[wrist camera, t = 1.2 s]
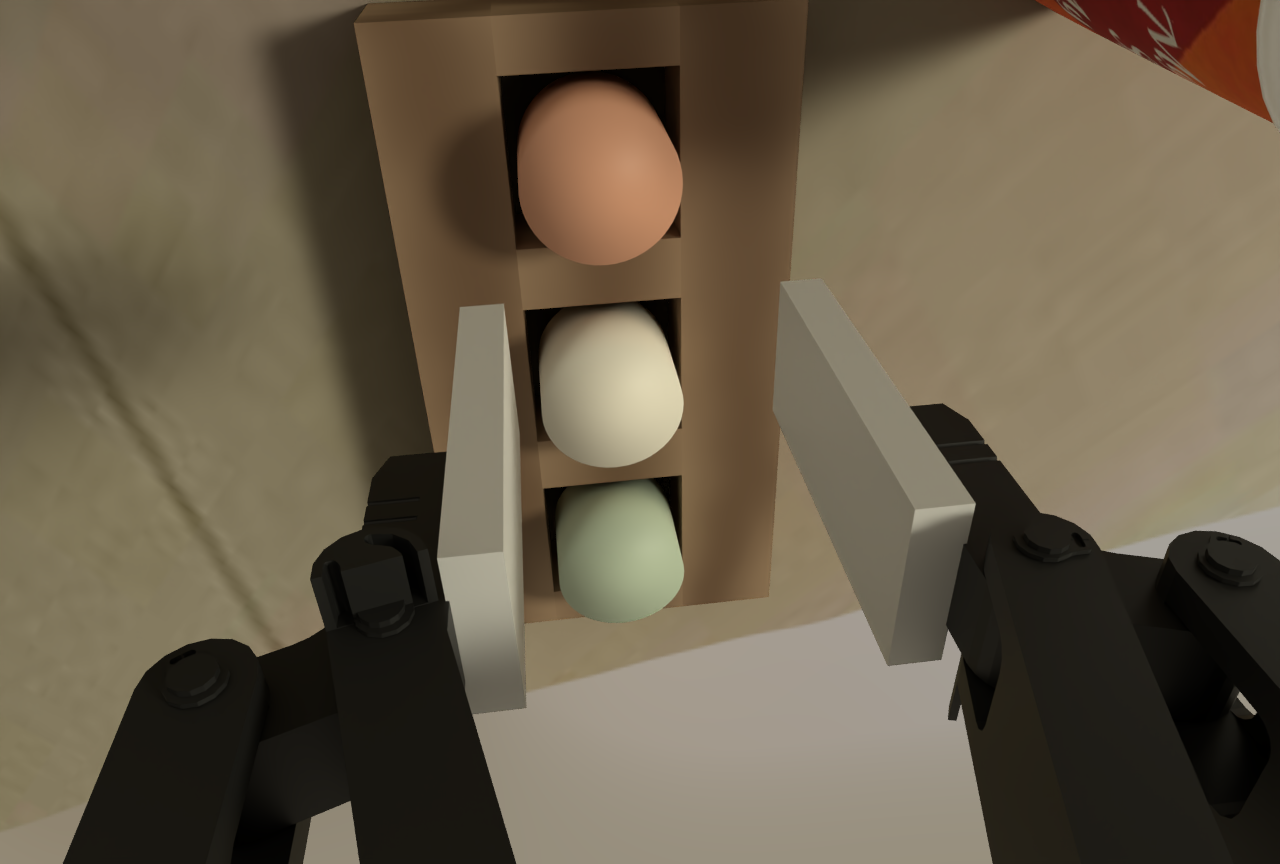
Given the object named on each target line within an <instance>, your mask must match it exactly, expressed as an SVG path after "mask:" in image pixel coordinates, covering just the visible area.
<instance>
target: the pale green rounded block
mask: <svg viewBox="0 0 1280 864" xmlns="http://www.w3.org/2000/svg"><path fill="white" fill-rule="evenodd" d="M555 526H556V540H557V554H558V568H559V582H560V589H561V592H562V595H563V597H564V598H565V600H566V602H567V603H568V604H569V605H570V606H571V607H572V608H573V609H574V610H575V611H577V612H578V613H580V614H581V615H583V616H585V617H587V618H590V619H593V620H597V621H601V622H608V623H623V622H631V621H635V620H639V619H642V618H645V617H648V616H650V615H652V614H654V613H656V612H657V611H659V610H661V609H662V608H663V607H665V606H666V605H667V604H668V603H669V602H670V601H671V600H672V599H673V598H674V597H675V596H676V594H677V593H678V591H679V589H680V587H681V585H682V582H683V578H684V565H683V560H682V556H681V552H680V548H679V544H678V540H677V535H676V531H675V527H674V523H673V519H672V514H671V510H670V506H669V502H668V498H667V495H666V493H665V491H664V490H663V488H662V487H661V485H660V484H659V483H658V482H657V481H656V480H654V479H653V478H647V479H636V480H626V481H616V482H605V483H595V484H584V485H574V486H568V487H567V488H566V489H565V490H564V492H563V493H562V494H561V496H560V498H559V500H558V502H557V505H556V509H555Z"/></svg>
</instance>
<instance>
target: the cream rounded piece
mask: <svg viewBox="0 0 1280 864" xmlns="http://www.w3.org/2000/svg"><path fill="white" fill-rule="evenodd" d="M538 360H539V376H540V393H541V409H542V419H543V424H544V427H545V430H546V432H547V434H548V436H549V438H550V439H551V441H552V442H553V443H554V445H555V446H556V447H557V448H558V449H559V450H560V451H562V452H563V453H564V454H565V455H567V456H568V457H570V458H572V459H574V460H576V461H578V462H580V463H583V464H587V465H590V466H596V467H606V468H610V467H621V466H627V465H631V464H634V463H637V462H640V461H642V460H644V459H646V458H648V457H650V456H652V455H653V454H655V453H656V452H658V451H659V450H660V449H661V448H662V447H664V446H665V445H666V444H667V442H668V441H669V440H670V439H671V438H672V436H673V435H674V434H675V432H676V430H677V428H678V426H679V424H680V421H681V418H682V414H683V405H684V402H683V394H682V389H681V386H680V383H679V379H678V376H677V373H676V370H675V366H674V363H673V360H672V357H671V353H670V350H669V347H668V344H667V340H666V337H665V334H664V331H663V329H662V327H661V325H660V323H659V321H658V320H657V319H656V317H655V316H654V315H653V314H652V313H651V312H650V311H649V310H648V309H647V308H645V307H644V306H642V305H641V304H639V303H637V302H635V301H632V302H619V303H607V304H594V305H582V306H569V307H564V308H563V309H561V310H560V311H559V312H558V313H557V314H556V315H555V316H554V317H553V318H552V319H551V320H550V321H549V323H548V324H547V326H546V328H545V329H544V331H543V334H542V336H541V339H540V343H539V349H538Z"/></svg>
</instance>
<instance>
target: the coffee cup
mask: <svg viewBox="0 0 1280 864" xmlns="http://www.w3.org/2000/svg"><path fill="white" fill-rule="evenodd" d="M1035 1H1037V2H1039V3H1040V4H1042V5H1044V6H1046V7H1048V8H1049V9H1051V10H1053V11H1055V12H1056V13H1058V14H1060V15H1062V16H1064V17H1066V18H1068V19H1070V20H1072V21H1073V22H1075V23H1077V24H1079V25H1081V26H1083V27H1085V28H1087V29H1089V30H1091V31H1092V32H1094V33H1096V34H1098V35H1100V36H1102V37H1104V38H1106V39H1108V40H1110V41H1112V42H1114V43H1116V44H1118V45H1120V46H1122V47H1124V48H1126V49H1128V50H1130V51H1132V52H1133V53H1135V54H1137V55H1139V56H1141V57H1143V58H1145V59H1147V60H1149V61H1151V62H1153V63H1155V64H1157V65H1159V66H1161V67H1163V68H1165V69H1167V70H1169V71H1171V72H1173V73H1175V74H1177V75H1179V76H1181V77H1183V78H1185V79H1187V80H1189V81H1191V82H1193V83H1195V84H1197V85H1199V86H1201V87H1203V88H1205V89H1207V90H1209V91H1211V92H1213V93H1215V94H1216V95H1218V96H1220V97H1222V98H1224V99H1226V100H1228V101H1230V102H1232V103H1234V104H1236V105H1238V106H1240V107H1242V108H1244V109H1246V110H1248V111H1250V112H1252V113H1254V114H1256V115H1258V116H1260V117H1262V118H1264V119H1266V120H1268V121H1270V122H1272V123H1273V124H1274V126H1275V127H1276V128H1277V130H1278V131H1279V133H1280V0H1035Z"/></svg>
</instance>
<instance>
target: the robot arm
mask: <svg viewBox="0 0 1280 864" xmlns="http://www.w3.org/2000/svg"><path fill="white" fill-rule="evenodd" d="M773 412H774V414H775V417H776V419H777V421H778V423H779V426H780V428H781V430H782V432H783V434H784V437H785V439H786V441H787V443H788V446H789V448H790V450H791V452H792V454H793V457H794V459H795V461H796V463H797V466H798V468H799V470H800V472H801V474H802V477H803V479H804V481H805V483H806V486H807V488H808V490H809V492H810V494H811V497H812V499H813V501H814V503H815V506H816V508H817V510H818V512H819V514H820V517H821V519H822V521H823V523H824V525H825V528H826V530H827V532H828V534H829V537H830V539H831V541H832V543H833V545H834V548H835V550H836V552H837V554H838V557H839V559H840V561H841V563H842V565H843V568H844V570H845V572H846V574H847V577H848V579H849V581H850V583H851V585H852V588H853V590H854V592H855V594H856V597H857V599H858V601H859V603H860V605H861V608H862V610H863V612H864V614H865V617H866V619H867V621H868V623H869V625H870V628H871V630H872V632H873V634H874V636H875V639H876V641H877V643H878V645H879V647H880V650H881V652H882V654H883V656H884V659H885V661H886V663H887V665H888V666H891V665H900V664H908V663H917V662H926V661H934V660H941V658H942V654H943V649H944V645H945V641H946V636H947V632H948V630H949V632H950V633H951V635H952V637H953V639H954V641H955V642H956V644H957V646H958V648H959V650H960V651H961V658H960V662H959V667H958V671H957V675H956V679H955V683H954V688H953V692H952V696H951V700H950V705H949V713H948V720H955V721H956V720H957V716H958V712H959V708H960V705H962V710H963V715H964V719H965V725H966V730H967V735H968V740H969V745H970V750H971V756H972V761H973V766H974V771H975V776H976V781H977V786H978V791H979V796H980V801H981V806H982V811H983V816H984V821H985V826H986V832H987V837H988V842H989V847H990V852H991V857H992V862H993V864H1280V561H1279V560H1278V559H1277V558H1275V557H1274V556H1273V555H1271V554H1270V553H1269V552H1267V551H1266V550H1264V549H1263V548H1262V547H1260V546H1258V545H1256V544H1253V543H1251V542H1249V541H1247V540H1245V539H1242V538H1240V537H1237V536H1233V535H1229V534H1225V533H1221V532H1216V531H1193V532H1189V533H1185V534H1182V535H1179V536H1177V537H1176V538H1175V539H1174V540H1173V541H1172V542H1171V543H1170V544H1169V547H1168V549H1167V552H1166V554H1165V557H1164V559H1158V558H1149V557H1142V556H1133V555H1125V554H1116V553H1111V552H1106V551H1101V550H1100V548H1099V546H1098V545H1097V543H1096V542H1095V541H1094V539H1093V538H1092V537H1091V535H1090V534H1088V533H1087V532H1086V531H1084V530H1083V529H1081V528H1080V527H1079V526H1077V525H1076V524H1074V523H1072V522H1070V521H1067V520H1064V519H1062V518H1059V517H1057V516H1054V515H1049V514H1043V513H1040V512H1039V511H1038V509H1037V508H1036V507H1035V506H1034V504H1033V503H1032V502H1031V500H1030V499H1029V498H1028V496H1027V495H1026V494H1025V493H1024V491H1023V490H1022V489H1021V487H1020V486H1019V485H1018V483H1017V482H1016V481H1015V480H1014V478H1013V477H1012V476H1011V474H1010V473H1009V472H1008V470H1007V469H1006V468H1005V466H1004V465H1003V464H1002V463H1001V461H997V456H996V455H995V453H994V452H993V451H992V450H991V448H990V447H989V446H988V444H984V439H983V438H982V437H981V435H980V434H979V433H978V431H977V430H976V429H975V427H974V426H973V425H972V423H971V422H970V421H969V420H968V419H966V418H965V417H963V416H962V415H960V414H958V413H957V412H955V411H954V410H952V409H951V408H949V407H947V406H946V405H944V404H943V403H942V404H931V405H921V406H910V407H909V405H908V404H907V402H906V401H905V399H904V398H903V396H902V395H901V393H900V392H899V391H898V389H897V388H896V386H895V385H894V383H893V382H892V380H891V379H890V377H889V376H888V374H887V373H886V372H885V370H884V369H883V367H882V366H881V364H880V363H879V361H878V360H877V358H876V357H875V355H874V354H873V353H872V351H871V350H870V348H869V347H868V345H867V344H866V342H865V341H864V339H863V338H862V336H861V335H860V334H859V332H858V331H857V329H856V328H855V326H854V325H853V323H852V322H851V320H850V319H849V317H848V316H847V315H846V313H845V312H844V310H843V309H842V307H841V306H840V304H839V303H838V301H837V300H836V298H835V297H834V296H833V294H832V293H831V291H830V290H829V288H828V287H827V285H826V284H825V282H824V281H823V279H822V278H820V279H807V280H795V281H782V282H780V296H779V313H778V329H777V346H776V362H775V379H774V395H773ZM310 580H311V584H312V587H313V590H314V593H315V597H316V600H317V603H318V606H319V610H320V613H321V616H322V619H323V623H324V626H325V628H324V629H322V630H320V631H319V632H317V633H316V634H314V635H313V636H311V637H310V638H307V639H305V640H303V641H300V642H298V643H296V644H294V645H291V646H288V647H285V648H282V649H280V650H277V651H274V652H271V653H268V654H265V655H262V656H259V657H256V656H255V654H254V653H253V651H252V650H251V649H250V647H249V646H247V645H245V644H242V643H240V642H238V641H235V640H233V639H208V640H204V641H200V642H196V643H191V644H187V645H186V646H184V647H182V648H180V649H178V650H176V651H174V652H172V653H170V654H168V655H166V656H164V657H163V658H162V659H161V660H159V661H158V662H157V663H156V664H155V665H153V666H152V667H151V668H150V669H149V670H147V671H146V673H145V674H144V676H143V677H142V679H141V680H140V682H139V683H138V685H137V686H136V688H135V689H134V692H133V694H132V696H131V699H130V701H129V704H128V706H127V709H126V711H125V713H124V716H123V718H122V721H121V723H120V726H119V728H118V731H117V733H116V735H115V738H114V740H113V743H112V745H111V748H110V750H109V752H108V755H107V757H106V760H105V762H104V765H103V767H102V769H101V772H100V774H99V777H98V779H97V782H96V784H95V787H94V789H93V791H92V794H91V796H90V799H89V801H88V804H87V806H86V808H85V811H84V813H83V816H82V818H81V821H80V823H79V826H78V828H77V830H76V833H75V835H74V838H73V840H72V843H71V845H70V847H69V850H68V852H67V855H66V857H65V860H64V862H63V864H303V859H304V855H305V849H306V843H307V837H308V832H309V827H310V821H311V817H313V816H315V815H317V814H320V813H322V812H325V811H327V810H329V809H332V808H334V807H336V806H339V805H341V804H344V803H346V802H348V801H351V806H352V813H353V820H354V826H355V834H356V841H357V847H358V855H359V861H360V864H516V861H515V858H514V855H513V851H512V848H511V845H510V841H509V838H508V834H507V831H506V828H505V824H504V821H503V818H502V814H501V811H500V807H499V804H498V801H497V797H496V794H495V791H494V787H493V783H492V780H491V777H490V773H489V770H488V767H487V763H486V760H485V757H484V753H483V750H482V746H481V743H480V739H479V737H478V733H477V729H476V726H475V722H474V719H473V716H472V714H479V713H487V712H496V711H504V710H513V709H522V708H526V673H525V632H524V591H523V550H522V509H521V468H520V432H519V424H518V416H517V408H516V400H515V391H514V383H513V375H512V367H511V359H510V351H509V343H508V334H507V326H506V318H505V310H504V304H493V305H480V306H468V307H460V311H459V322H458V333H457V344H456V355H455V366H454V377H453V388H452V399H451V410H450V421H449V432H448V443H447V451H446V452H436V453H425V454H414V455H403V456H392V457H390V458H389V459H388V460H387V461H386V462H385V464H384V465H383V466H382V467H381V468H380V470H379V471H378V472H377V473H376V474H375V476H374V477H373V478H372V482H371V487H370V492H369V497H368V506H367V507H366V512H365V517H364V525H363V527H362V530H360V531H357V532H355V533H352V534H349V535H347V536H344V537H341V538H340V539H338V540H337V541H336V542H334V543H333V544H331V545H330V546H328V547H327V548H326V549H324V550H323V552H322V553H321V554H320V556H319V557H318V558H317V559H316V561H315V562H314V563H313V566H312V572H311V578H310ZM1239 692H1241V693H1242V694H1243V696H1244V697H1245V698H1246V699H1247V700H1248V702H1249V703H1250V704H1251V705H1252V707H1253V708H1254V709H1255V710H1256V711H1257V713H1256V715H1253V714H1252V713H1251V712H1250V711H1249V710H1248V709H1246V708H1245V706H1244V705H1243V704H1242V703H1241V702H1240V700H1239V699H1238V698H1237V695H1238V694H1239Z"/></svg>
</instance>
